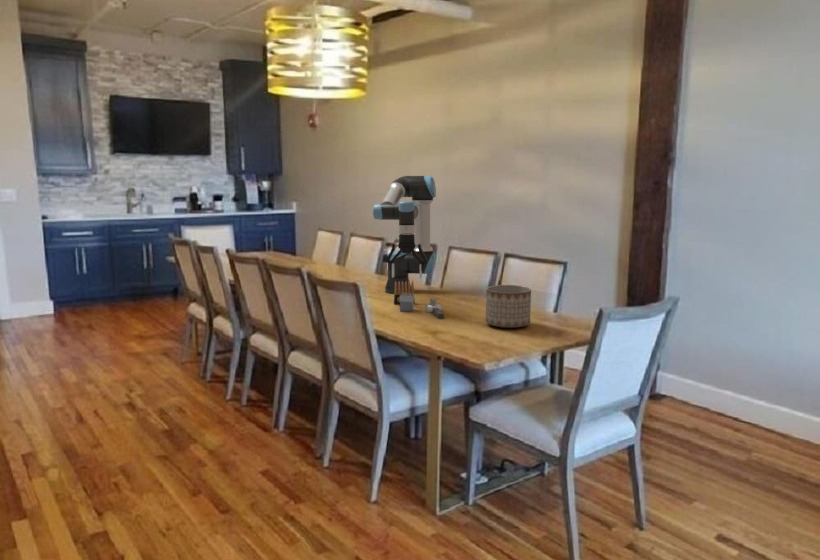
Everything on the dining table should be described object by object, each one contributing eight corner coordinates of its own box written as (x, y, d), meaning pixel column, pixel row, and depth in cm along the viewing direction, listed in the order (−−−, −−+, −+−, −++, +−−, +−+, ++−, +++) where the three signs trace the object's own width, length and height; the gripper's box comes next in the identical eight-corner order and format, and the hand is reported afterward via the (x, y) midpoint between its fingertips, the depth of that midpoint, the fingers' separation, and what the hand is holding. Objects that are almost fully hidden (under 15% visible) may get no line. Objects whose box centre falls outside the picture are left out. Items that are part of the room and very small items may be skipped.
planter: (477, 322, 277) (478, 286, 274) (514, 318, 285) (515, 283, 282) (500, 332, 260) (501, 294, 257) (538, 328, 267) (540, 290, 264)
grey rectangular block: (402, 308, 306) (401, 292, 304) (414, 309, 305) (414, 293, 303) (399, 311, 300) (399, 295, 299) (412, 311, 299) (412, 295, 298)
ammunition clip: (413, 302, 320) (413, 280, 318) (414, 303, 318) (414, 280, 316) (393, 303, 317) (393, 280, 315) (394, 304, 315) (394, 281, 313)
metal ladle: (423, 309, 303) (423, 297, 302) (439, 309, 305) (439, 297, 304) (432, 319, 284) (432, 306, 283) (449, 318, 286) (449, 305, 284)
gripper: (379, 234, 294) (380, 278, 298) (431, 234, 290) (431, 279, 294) (382, 232, 302) (383, 275, 305) (433, 233, 298) (433, 276, 301)
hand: (406, 277), depth 299 cm, fingers open, 13 cm apart
